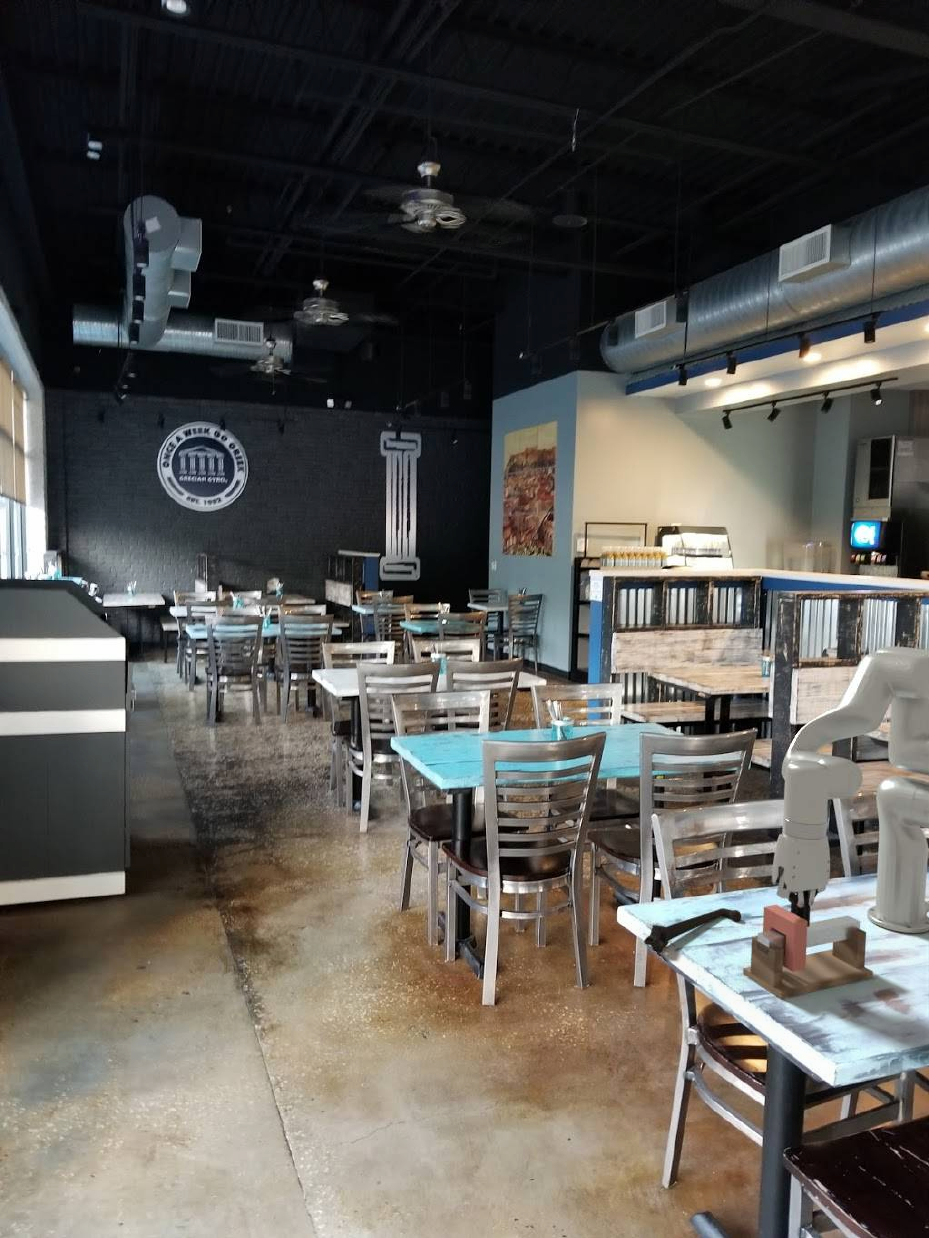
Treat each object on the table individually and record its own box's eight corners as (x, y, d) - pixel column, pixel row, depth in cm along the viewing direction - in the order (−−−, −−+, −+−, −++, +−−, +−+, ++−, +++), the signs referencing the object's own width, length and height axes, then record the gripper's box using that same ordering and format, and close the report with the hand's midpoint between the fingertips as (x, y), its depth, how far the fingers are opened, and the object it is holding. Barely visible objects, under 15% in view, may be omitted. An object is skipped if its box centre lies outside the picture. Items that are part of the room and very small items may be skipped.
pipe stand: (832, 955, 180) (833, 915, 179) (872, 977, 170) (874, 936, 170) (743, 974, 171) (744, 933, 170) (780, 999, 162) (782, 955, 161)
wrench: (742, 929, 196) (662, 961, 175) (721, 923, 200) (641, 954, 179) (743, 905, 196) (663, 934, 175) (722, 899, 200) (641, 927, 179)
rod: (846, 930, 176) (847, 913, 176) (860, 938, 173) (861, 920, 173) (756, 949, 167) (757, 931, 167) (769, 957, 164) (770, 938, 164)
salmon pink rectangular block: (774, 950, 172) (776, 904, 171) (805, 968, 165) (807, 921, 164) (761, 953, 171) (763, 906, 170) (792, 971, 164) (794, 923, 163)
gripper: (820, 818, 174) (815, 911, 175) (758, 826, 168) (754, 922, 169) (850, 829, 167) (845, 926, 168) (787, 839, 161) (782, 939, 162)
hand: (799, 924), depth 169 cm, fingers closed
